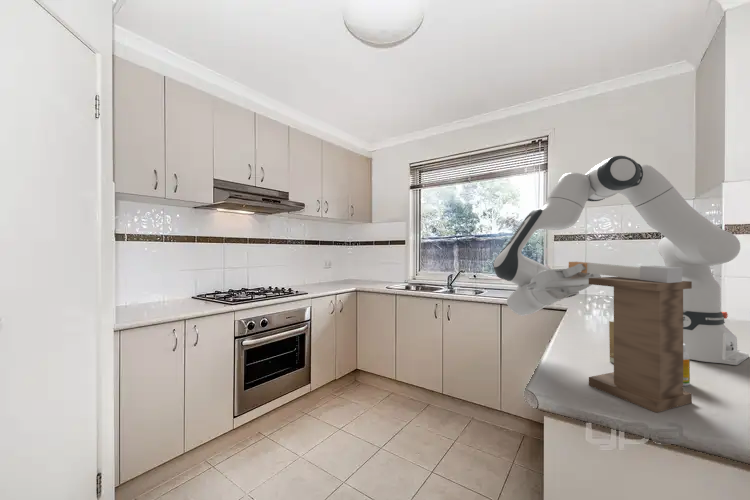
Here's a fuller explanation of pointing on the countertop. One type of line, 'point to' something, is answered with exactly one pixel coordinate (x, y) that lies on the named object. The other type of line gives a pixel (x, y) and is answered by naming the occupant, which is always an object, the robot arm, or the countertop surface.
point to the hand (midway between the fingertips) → (589, 265)
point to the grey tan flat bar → (635, 271)
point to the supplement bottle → (686, 367)
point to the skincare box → (611, 340)
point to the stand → (646, 343)
